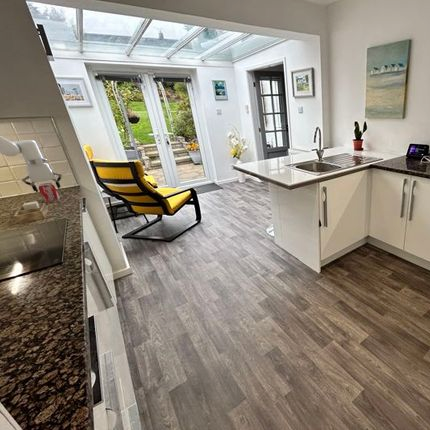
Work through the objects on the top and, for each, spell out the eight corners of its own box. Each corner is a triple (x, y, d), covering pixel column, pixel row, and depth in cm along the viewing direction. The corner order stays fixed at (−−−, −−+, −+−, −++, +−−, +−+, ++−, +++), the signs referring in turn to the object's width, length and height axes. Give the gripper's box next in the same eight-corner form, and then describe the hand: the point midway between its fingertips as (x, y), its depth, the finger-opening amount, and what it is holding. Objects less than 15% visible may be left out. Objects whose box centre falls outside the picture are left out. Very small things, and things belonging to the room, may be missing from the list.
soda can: (46, 205, 158) (37, 186, 154) (45, 203, 163) (36, 184, 158) (61, 202, 163) (53, 183, 158) (60, 200, 167) (52, 181, 163)
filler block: (27, 216, 140) (22, 205, 137) (29, 213, 143) (23, 203, 141) (40, 213, 143) (35, 203, 140) (41, 211, 146) (37, 201, 144)
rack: (18, 225, 130) (13, 216, 129) (24, 215, 144) (20, 206, 142) (45, 219, 136) (41, 211, 135) (48, 210, 150) (45, 202, 148)
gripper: (55, 159, 161) (67, 185, 168) (15, 163, 151) (29, 192, 157) (55, 160, 156) (67, 188, 162) (12, 165, 145) (27, 194, 152)
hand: (48, 190), depth 160 cm, fingers open, 9 cm apart
